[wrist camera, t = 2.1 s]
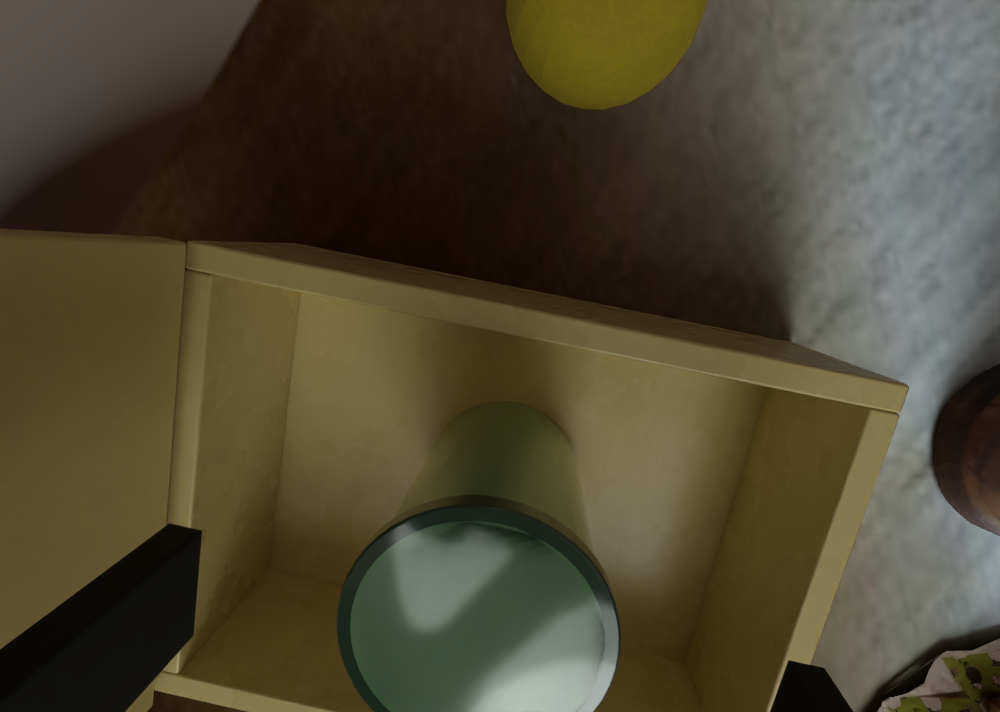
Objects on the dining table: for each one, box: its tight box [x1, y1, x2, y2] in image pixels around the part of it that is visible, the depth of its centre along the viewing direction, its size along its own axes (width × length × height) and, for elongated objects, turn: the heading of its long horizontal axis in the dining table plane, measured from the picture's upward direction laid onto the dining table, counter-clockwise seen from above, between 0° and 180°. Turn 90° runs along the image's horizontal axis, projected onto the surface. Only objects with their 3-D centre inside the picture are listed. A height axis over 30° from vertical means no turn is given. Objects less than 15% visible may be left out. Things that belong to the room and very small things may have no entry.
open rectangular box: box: [154, 241, 909, 712], centre depth 19 cm, size 20×15×7 cm
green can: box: [336, 401, 621, 712], centre depth 17 cm, size 7×7×10 cm
